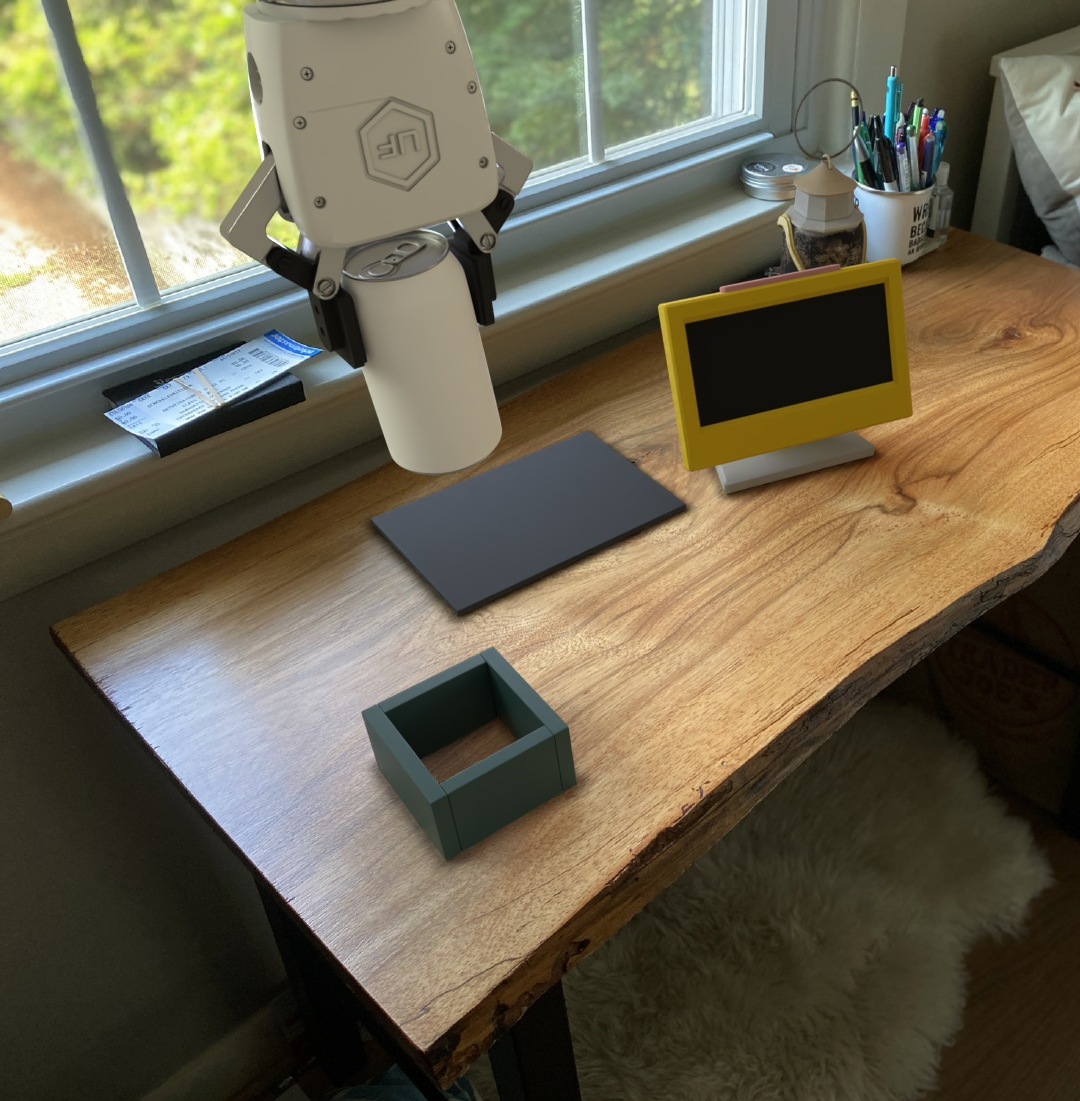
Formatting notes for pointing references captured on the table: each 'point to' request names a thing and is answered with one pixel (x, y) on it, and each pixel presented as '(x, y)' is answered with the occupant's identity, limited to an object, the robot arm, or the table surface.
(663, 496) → the mat
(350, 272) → the can
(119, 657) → the table surface
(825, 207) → the lantern
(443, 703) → the box
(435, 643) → the table surface
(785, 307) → the yellow framed monitor
